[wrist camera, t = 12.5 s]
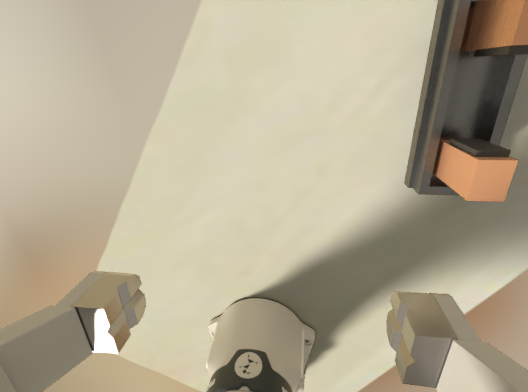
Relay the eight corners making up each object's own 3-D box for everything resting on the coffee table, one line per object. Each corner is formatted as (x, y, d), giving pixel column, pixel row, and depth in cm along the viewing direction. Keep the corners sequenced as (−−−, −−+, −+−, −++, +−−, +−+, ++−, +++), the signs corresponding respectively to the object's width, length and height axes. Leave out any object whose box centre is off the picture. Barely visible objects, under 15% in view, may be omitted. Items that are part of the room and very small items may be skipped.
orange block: (460, 173, 34) (504, 201, 26) (432, 173, 34) (466, 200, 27) (471, 134, 32) (520, 153, 25) (440, 134, 32) (480, 153, 25)
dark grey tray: (471, 184, 35) (525, 221, 27) (404, 183, 37) (435, 218, 28) (527, -8, 27) (629, -43, 19) (438, -3, 28) (497, -34, 20)
